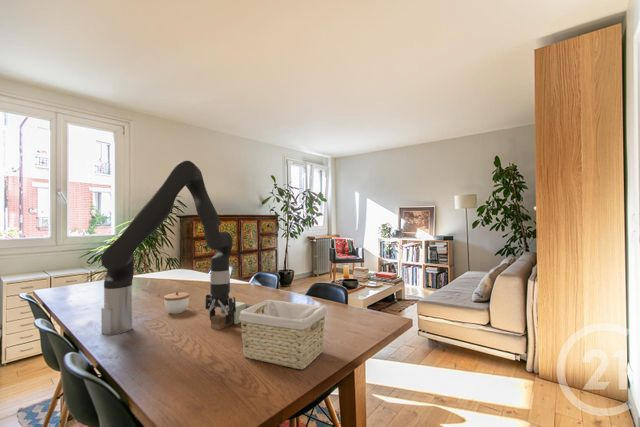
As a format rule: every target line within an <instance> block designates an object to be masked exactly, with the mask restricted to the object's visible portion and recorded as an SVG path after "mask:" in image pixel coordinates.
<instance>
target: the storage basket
mask: <svg viewBox="0 0 640 427" xmlns="http://www.w3.org/2000/svg"><path fill="white" fill-rule="evenodd" d="M260 313H261V314H260ZM326 316H327V309H326V307H325V306H324V305H321V306H320V305H314V304H308V303H298V302H291V301H290V302H289V301H282V300H275V299H270V298H269V299H265V300H264V301H261V302H258V303H256V304H253V306H251V307H249V308H246V309H244V310H242V311H241V312H240V317H239V320H240V321H241V322H240V324H241V326H240V327H241V338H242V341H241V342H242V351H243V357H244V358H247V359H248V358H249V359H250V360H256V361H260V362H264V363H269V364H274V365H278V366H284V367H286V368H287V367H289V368H292V369H296V370H297V369H298V370H304V369H305V368H307V367H308V366H309V365H310V364H311V363H313V361H314V360H316V359H317V358H318V357H319V356H320V354H321V353H323V350H324V339H325V322H326Z"/></svg>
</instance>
